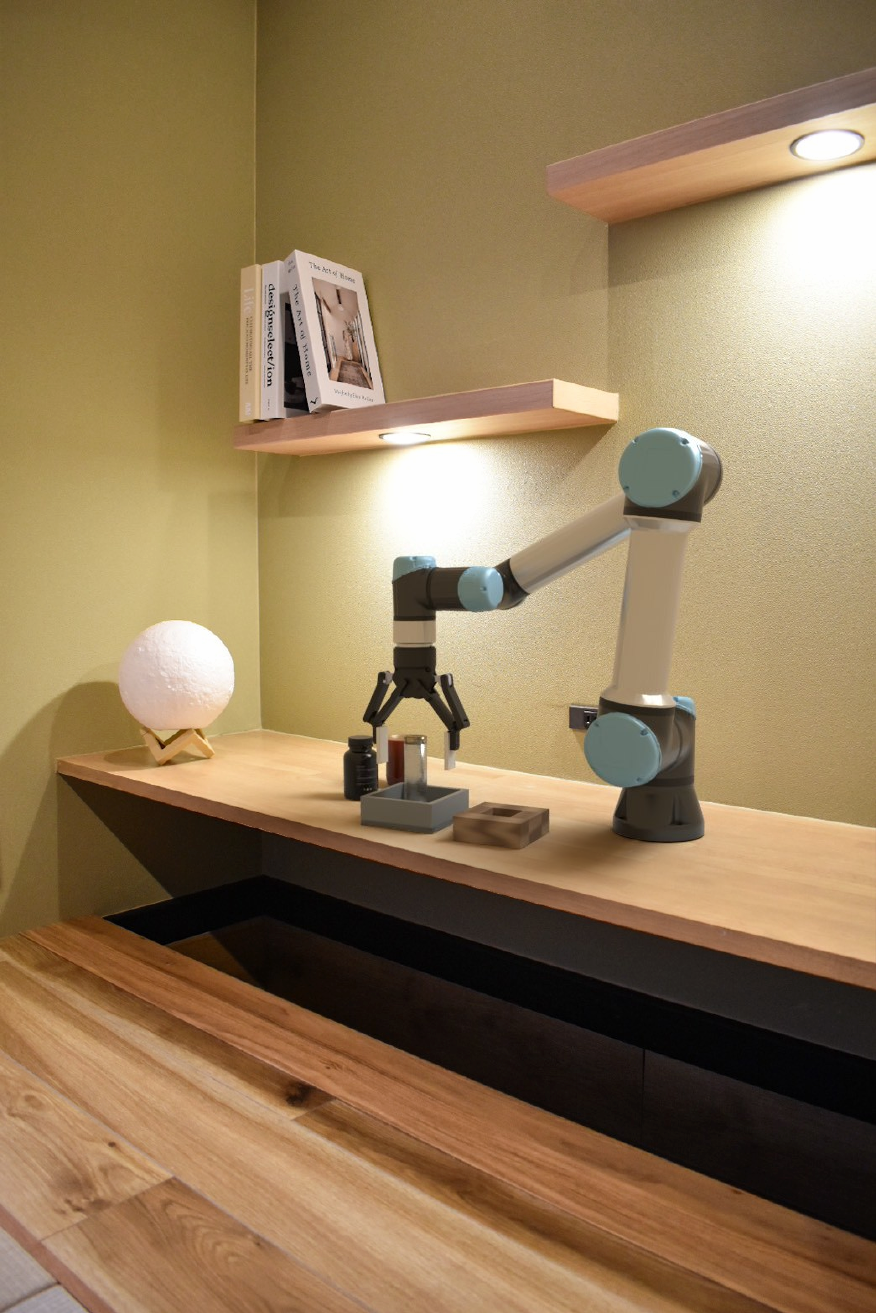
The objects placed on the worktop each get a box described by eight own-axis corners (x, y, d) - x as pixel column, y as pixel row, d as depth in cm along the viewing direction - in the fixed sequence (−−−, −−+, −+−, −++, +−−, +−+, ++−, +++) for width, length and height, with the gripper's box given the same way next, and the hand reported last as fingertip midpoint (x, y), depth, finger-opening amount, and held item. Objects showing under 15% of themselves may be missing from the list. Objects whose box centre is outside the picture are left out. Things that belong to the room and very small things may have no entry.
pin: (431, 814, 180) (431, 735, 179) (420, 818, 176) (419, 738, 175) (411, 811, 182) (411, 734, 181) (400, 816, 178) (399, 737, 177)
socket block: (549, 832, 170) (549, 808, 170) (520, 848, 160) (520, 823, 159) (484, 824, 176) (484, 801, 176) (452, 840, 165) (452, 815, 165)
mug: (431, 789, 206) (431, 739, 205) (390, 792, 203) (390, 741, 202) (412, 778, 217) (411, 730, 217) (372, 781, 214) (372, 733, 214)
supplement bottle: (338, 796, 200) (337, 735, 199) (370, 792, 203) (369, 733, 202) (351, 802, 194) (351, 740, 193) (384, 799, 197) (383, 737, 196)
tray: (468, 816, 182) (468, 789, 181) (431, 833, 170) (431, 804, 169) (401, 808, 188) (401, 782, 188) (360, 824, 176) (360, 796, 176)
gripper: (488, 645, 174) (489, 767, 176) (365, 642, 186) (366, 757, 187) (469, 648, 167) (469, 775, 169) (342, 644, 179) (344, 763, 181)
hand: (415, 765), depth 178 cm, fingers open, 13 cm apart
